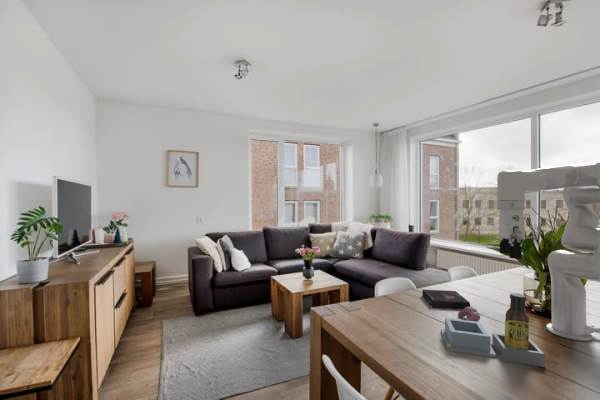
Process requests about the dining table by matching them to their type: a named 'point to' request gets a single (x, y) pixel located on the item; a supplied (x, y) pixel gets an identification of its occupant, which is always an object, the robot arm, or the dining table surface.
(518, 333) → the sauce bottle
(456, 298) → the portable cd player
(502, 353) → the grey square frame
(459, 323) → the socket dock
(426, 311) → the dining table surface
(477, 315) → the video game controller
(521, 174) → the robot arm
